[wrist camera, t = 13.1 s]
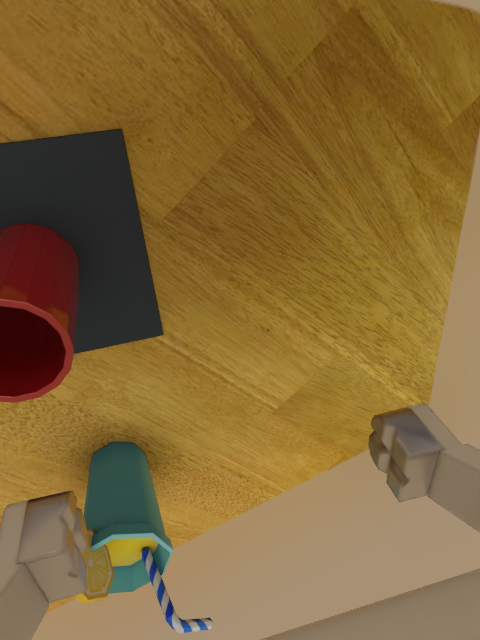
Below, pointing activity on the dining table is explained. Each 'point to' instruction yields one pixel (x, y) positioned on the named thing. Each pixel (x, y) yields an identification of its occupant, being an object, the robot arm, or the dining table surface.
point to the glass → (36, 310)
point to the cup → (126, 532)
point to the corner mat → (87, 228)
